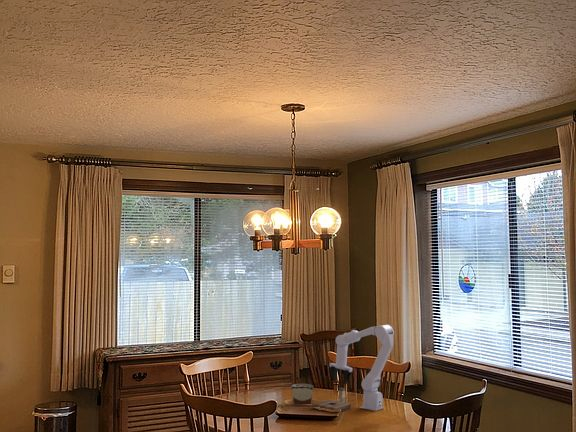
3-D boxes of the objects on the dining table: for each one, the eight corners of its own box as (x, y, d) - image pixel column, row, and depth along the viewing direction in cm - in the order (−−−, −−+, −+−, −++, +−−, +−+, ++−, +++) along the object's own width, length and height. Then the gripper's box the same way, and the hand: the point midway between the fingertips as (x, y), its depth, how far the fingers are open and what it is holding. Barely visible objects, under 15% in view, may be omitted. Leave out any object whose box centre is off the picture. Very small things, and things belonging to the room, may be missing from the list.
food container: (314, 403, 321) (314, 384, 322) (313, 405, 315) (314, 386, 316) (291, 402, 323) (291, 383, 324) (290, 404, 316) (290, 385, 317)
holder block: (350, 408, 310) (350, 403, 310) (335, 413, 299) (335, 408, 299) (328, 404, 318) (328, 399, 319) (312, 408, 307) (312, 403, 308)
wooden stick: (345, 403, 322) (345, 388, 322) (342, 404, 320) (342, 389, 320) (341, 402, 323) (341, 387, 324) (338, 403, 321) (338, 388, 322)
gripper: (326, 355, 326) (324, 380, 326) (347, 360, 316) (345, 386, 315) (335, 354, 331) (333, 379, 331) (355, 359, 321) (353, 385, 320)
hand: (339, 382), depth 323 cm, fingers open, 7 cm apart
